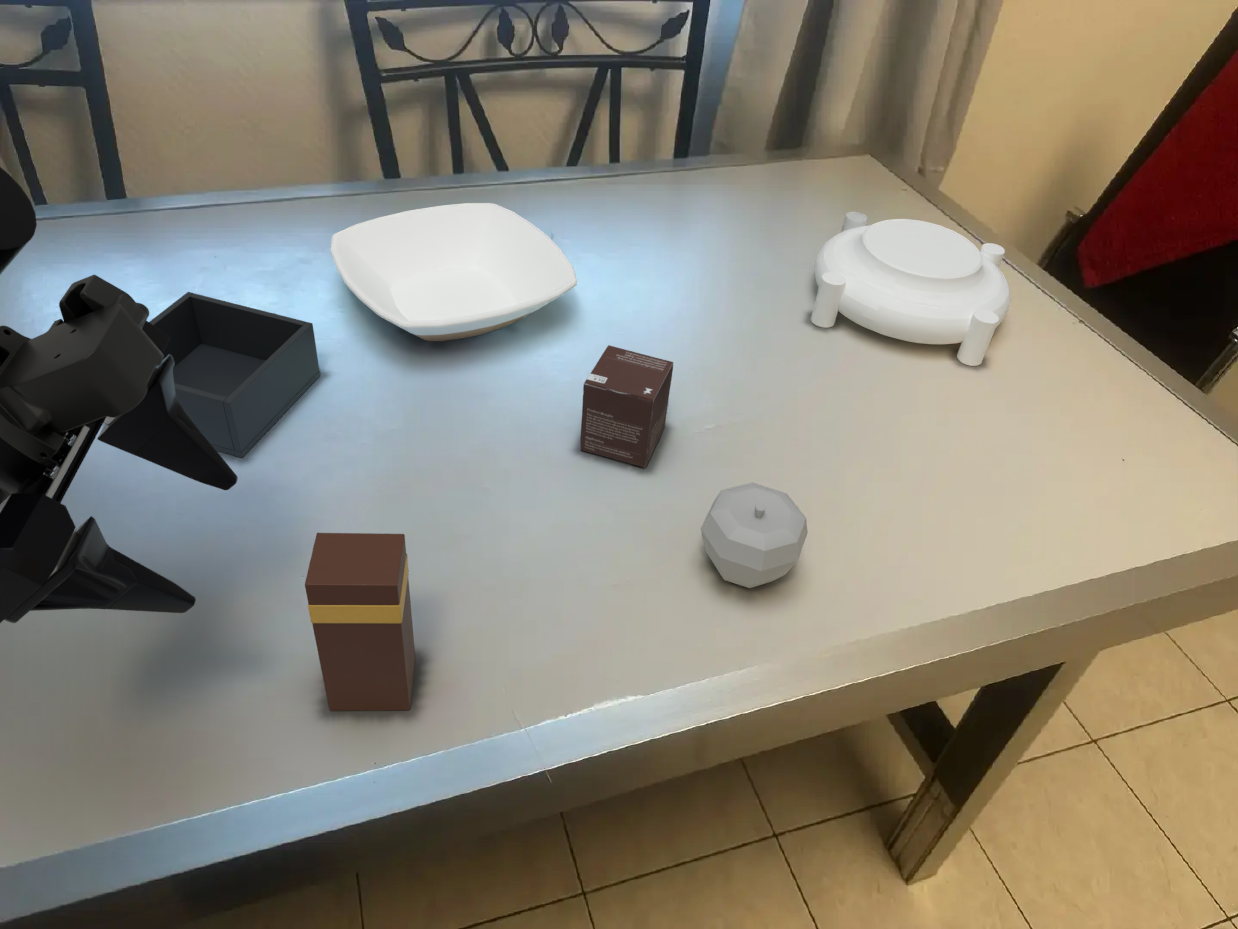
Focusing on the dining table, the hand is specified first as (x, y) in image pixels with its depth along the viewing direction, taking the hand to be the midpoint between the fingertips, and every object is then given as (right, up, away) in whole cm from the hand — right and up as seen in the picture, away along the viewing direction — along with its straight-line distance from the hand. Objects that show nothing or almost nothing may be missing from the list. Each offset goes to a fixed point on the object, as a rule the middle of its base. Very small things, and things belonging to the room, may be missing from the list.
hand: (213, 541), depth 52 cm
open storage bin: (-12, +10, +30) cm, 34 cm away
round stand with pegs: (+53, +21, +52) cm, 77 cm away
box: (+23, +6, +30) cm, 38 cm away
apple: (+32, -4, +20) cm, 38 cm away
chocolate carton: (+6, -10, +10) cm, 15 cm away
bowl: (+6, +20, +44) cm, 49 cm away
